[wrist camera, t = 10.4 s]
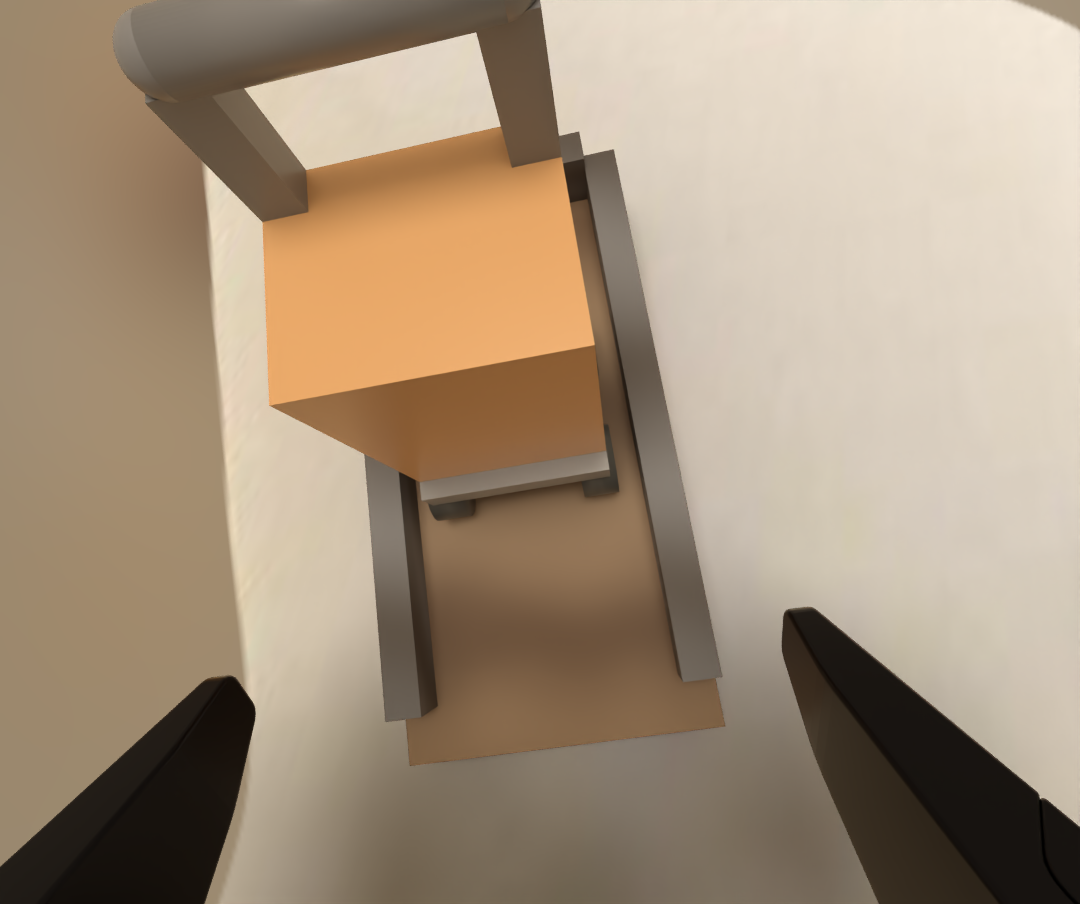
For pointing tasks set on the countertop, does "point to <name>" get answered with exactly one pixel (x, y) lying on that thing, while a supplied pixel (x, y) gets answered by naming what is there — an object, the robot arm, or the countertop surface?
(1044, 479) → the countertop surface
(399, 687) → the dock
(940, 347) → the countertop surface
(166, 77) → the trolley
